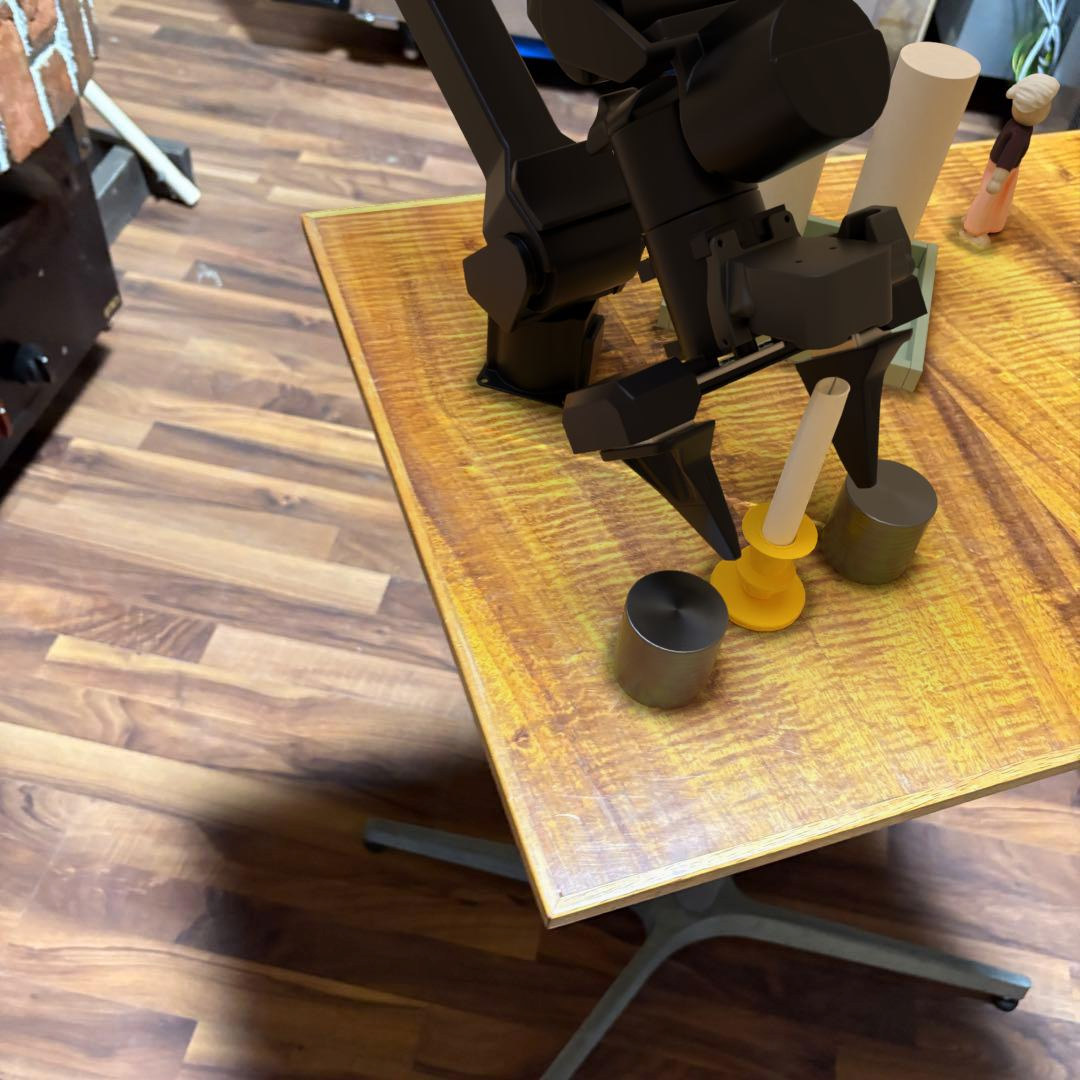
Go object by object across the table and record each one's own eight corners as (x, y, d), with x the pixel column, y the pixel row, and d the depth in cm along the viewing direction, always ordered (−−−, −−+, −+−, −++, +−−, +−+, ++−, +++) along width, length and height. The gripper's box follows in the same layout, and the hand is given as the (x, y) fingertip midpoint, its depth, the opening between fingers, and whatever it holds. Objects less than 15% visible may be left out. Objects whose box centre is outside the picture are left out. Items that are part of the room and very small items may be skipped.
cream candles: (723, 261, 76) (776, 42, 64) (736, 226, 79) (789, 11, 67) (892, 303, 74) (979, 85, 62) (898, 265, 77) (982, 51, 65)
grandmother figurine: (1003, 262, 79) (1080, 103, 70) (953, 254, 80) (1023, 94, 70) (994, 210, 84) (1065, 55, 75) (947, 202, 85) (1011, 47, 75)
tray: (655, 331, 71) (660, 304, 69) (703, 216, 81) (709, 190, 79) (910, 397, 68) (922, 371, 66) (927, 270, 78) (939, 244, 76)
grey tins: (593, 654, 53) (604, 596, 49) (860, 506, 61) (888, 446, 57) (653, 727, 50) (670, 671, 47) (924, 562, 59) (957, 503, 55)
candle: (698, 613, 55) (766, 396, 43) (721, 545, 58) (790, 326, 47) (793, 645, 54) (889, 431, 42) (810, 574, 57) (904, 357, 46)
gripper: (634, 217, 37) (770, 612, 39) (972, 104, 44) (1066, 441, 47) (505, 286, 47) (620, 597, 49) (799, 184, 54) (885, 458, 57)
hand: (802, 522), depth 50 cm, fingers open, 9 cm apart
